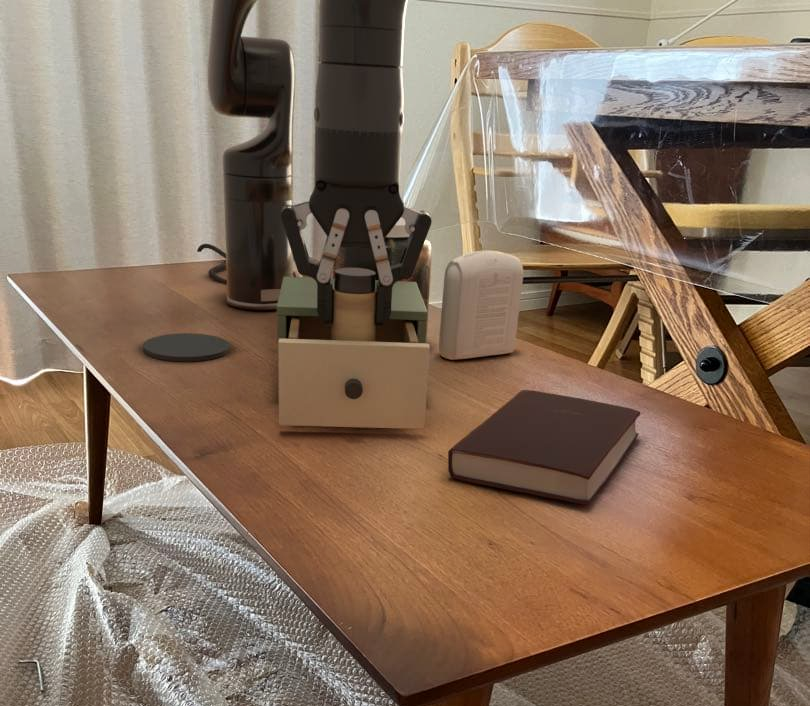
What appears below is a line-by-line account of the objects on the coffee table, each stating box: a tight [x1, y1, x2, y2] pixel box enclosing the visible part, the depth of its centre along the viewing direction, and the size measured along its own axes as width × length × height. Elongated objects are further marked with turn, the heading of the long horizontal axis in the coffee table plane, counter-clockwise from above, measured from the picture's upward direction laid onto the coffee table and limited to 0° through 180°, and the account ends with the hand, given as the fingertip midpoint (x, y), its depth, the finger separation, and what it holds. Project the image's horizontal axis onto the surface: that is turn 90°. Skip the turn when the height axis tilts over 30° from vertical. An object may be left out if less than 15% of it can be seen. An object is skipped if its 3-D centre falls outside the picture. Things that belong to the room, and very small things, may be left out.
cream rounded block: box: [438, 249, 524, 361], centre depth 110 cm, size 10×4×12 cm, turn 123°
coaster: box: [142, 332, 231, 363], centre depth 108 cm, size 10×10×1 cm
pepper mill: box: [331, 268, 377, 342], centre depth 87 cm, size 4×4×12 cm
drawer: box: [278, 316, 431, 430], centre depth 89 cm, size 14×14×8 cm
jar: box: [332, 217, 432, 340], centre depth 111 cm, size 12×12×15 cm
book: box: [447, 389, 641, 505], centre depth 83 cm, size 12×19×3 cm, turn 155°
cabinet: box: [276, 276, 429, 403], centre depth 98 cm, size 14×15×10 cm
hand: (353, 321), depth 86 cm, fingers closed on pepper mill, 4 cm apart
